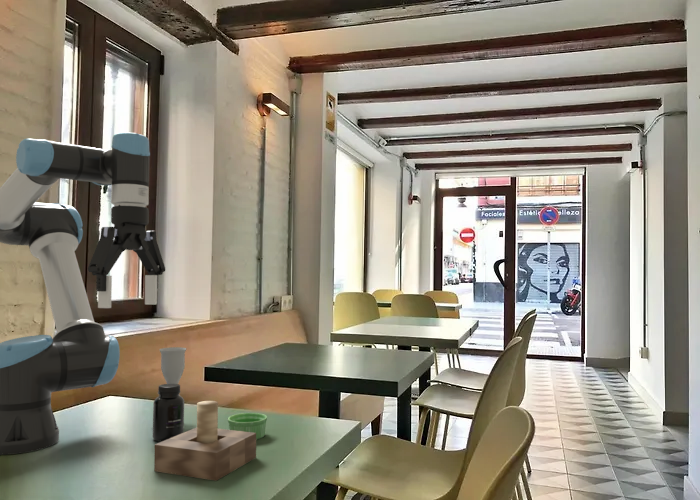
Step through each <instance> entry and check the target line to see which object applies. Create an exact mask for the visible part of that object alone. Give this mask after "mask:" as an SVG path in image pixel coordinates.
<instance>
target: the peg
mask: <svg viewBox="0 0 700 500" xmlns="http://www.w3.org/2000/svg"><path fill="white" fill-rule="evenodd" d="M218 418H219V403H218V401H215V400H204V401H199V402H197V403H196V427H197V442H200V443H208V444H211V443H214V442H216V441H218V429H219V427H218V425H219V423H218V422H219V421H218V420H219V419H218Z"/></svg>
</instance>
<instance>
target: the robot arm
mask: <svg viewBox="0 0 700 500" xmlns="http://www.w3.org/2000/svg"><path fill="white" fill-rule="evenodd" d="M110 147H111V148H109V149H102V148H96V147H91V146H84V145H79V144H78V145H77V144H72V143H66V142H65V143H64V142H57V141H53V140H48V139H43V138H42V139H41V138H39V139H38V138H37V139H36V138H23V139H22V140H21V141H20V142H19V143H18V148H17V149H16V153H15V154H16V156H15V163H16V169H14V171H13V172H12V173H11V175H10V176H9V177H7V179H6V181H5V182H4V183H3V184H2V185H1V186H0V243H1V244H5V245H11V246H12V245H13V246H28V247H29V251H30V255H32V256H33V257H34V258H36V259H38V260H39V265H40V268H41V272H42V277H43V281H44V284H45V285H44V286H45V290H46V292H47V293H46V294H47V297H48V301H49V305H50V309H51V313H52V317H53V321H54V325H55V329H56V333H55V334H54V335H53V336H51V335H49V334H36V335H29V336H22V337H17V338H12V339H7V340H5V341H1V342H0V456H1V455H14V454H15V455H17V454H23V453H29V452H34V451H39V450H43V449H46V448H49V447H51V446H53V445H56V443H58V442H59V440H60V429H59V426H58V424H57V421H56V418H55V415H54V412H53V408H52V405H51V404H52V402H51V401H52V393H55V392H63V391H70V390H77V389H84V388H95V387H97V386H101V385H106V384H109V383H110V382H112V380H113V379H114V378H115V376H116V374H117V371H118V369H119V363H120V353H121V351H120V344H119V341H118V340H117V338H116V337H115V336H114V335H111V334H109V335H106V333H105V330H104V327H103V325H102V324H100V323H98V322H95V319H94V316H93V311H92V309H91V306H90V302H89V298H88V295H87V292H86V287H85V283H84V281H83V276H82V274H81V269H80V266H79V263H78V259H77V256H76V252H75V251H77V249H78V247H79V244H80V243H81V242H82V239H83V234H84V230H83V227H84V226H83V225H84V224H83V221H82V220H83V219H82V216H81V215H80V213H79V212H78V210H77V209H76V208H75V207H74V206H71V205H69V204H62V203H60V202H55V203H54V202H53V203H48V202H47V203H46V202H38V200H39V199H40V198H41V197H42V196H43V195H44V194H45V193H46V192H48V190H49V189H50V188H51V187H52V186H53V185H54V184H55V183H56V182H57V181H58V180H59V179H61V180H62V179H64V180H71V181H79V182H87V183H88V182H90V183H93V184H94V185H97V186H111V196H110V197H111V199H110V203H111V205H113V206H112V207H111V209H110V210H111V211H110V221H111V222H110V223H111V224H112V225H113V226H102V227H101V229H100V236H99V237H100V238H99V239H98V243H97V245H96V247H95V250H94V252H93V255H92V257H91V259H90V262H89V264H88V267H87V272H89V273H91V274H92V275H93V276H96V288H95V289H96V291H97V308H98V309H112V290H113V289H112V285H113V284H112V281H113V280H112V279H113V276H112V275H109V273H110V272H111V270H112V268H113V267H114V266H115V265H116V263H117V261H118V259H119V258H120V256H121V255H122V253H123V252H125V251H133V252H134V253H136V255H137V257H138V258H139V260H140V262H141V264H142V265H143V267H144V269H145V271H146V273H147V274H145V275H144V276H145V278H144V279H145V280H144V305H153V306H154V305H157V304H158V289H159V276H162V275H163V274H164V273H165V272H166V266H165V263H164V260H163V257H162V254H161V250H160V247H159V245H158V241H157V232H156V231H155V230H146V226H148V225H149V222H150V220H149V217H150V214H149V213H150V211H149V208H148V207H147V206H149V203H150V202H149V199H150V197H149V195H150V194H149V193H150V192H149V191H150V190H149V189H150V188H149V187H150V161H151V160H150V159H151V158H150V157H151V151H150V140H149V138H148V137H147V136H146V135H144V134H140V133H136V132H127V131H126V132H116V133H115V134H113V136H112V140H111V144H110Z"/></svg>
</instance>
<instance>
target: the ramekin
mask: <svg viewBox="0 0 700 500" xmlns="http://www.w3.org/2000/svg"><path fill="white" fill-rule="evenodd" d="M267 420H268V416H267V415H266V414H263V413H258V412H244V413H241V412H240V413H236V414H233V415H230V416H228V418H227V422H228V430H235V431H243V432H252V433H256V441H257V440H260V439H262V438H263V437H264V436H265V435H266V424H267Z"/></svg>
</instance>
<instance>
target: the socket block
mask: <svg viewBox="0 0 700 500" xmlns="http://www.w3.org/2000/svg"><path fill="white" fill-rule="evenodd" d="M153 457H154V462H153V463H154V472H156V473H157V472H158V473H163V474H170V475H171V474H172V475H176V476H177V475H178V476H184V477H190V478H197V479H204V480H211V481H216V482H217V481H218V480H220V479H222V478H223V477H225V476H227V475H229V474H231V473H233V472H234V471H236V470H237V469H239V468H241V467H243V466H244V465H246V464H247V463H250V462H251V461H253V460H255V459H256V458H257V440H256V433H252V432H243V431H235V430H229V429H226V428H218V441H216V442H214V443H211V444H208V443H200V442H197V426H196V427H194V428H192V429H189V430H187V431H184V433H182V434H179V435H177V436H174V437H172V438H170V439H167V440H165V441H162V442H161V441H159V442H158V443H155V444H154V455H153Z"/></svg>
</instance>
